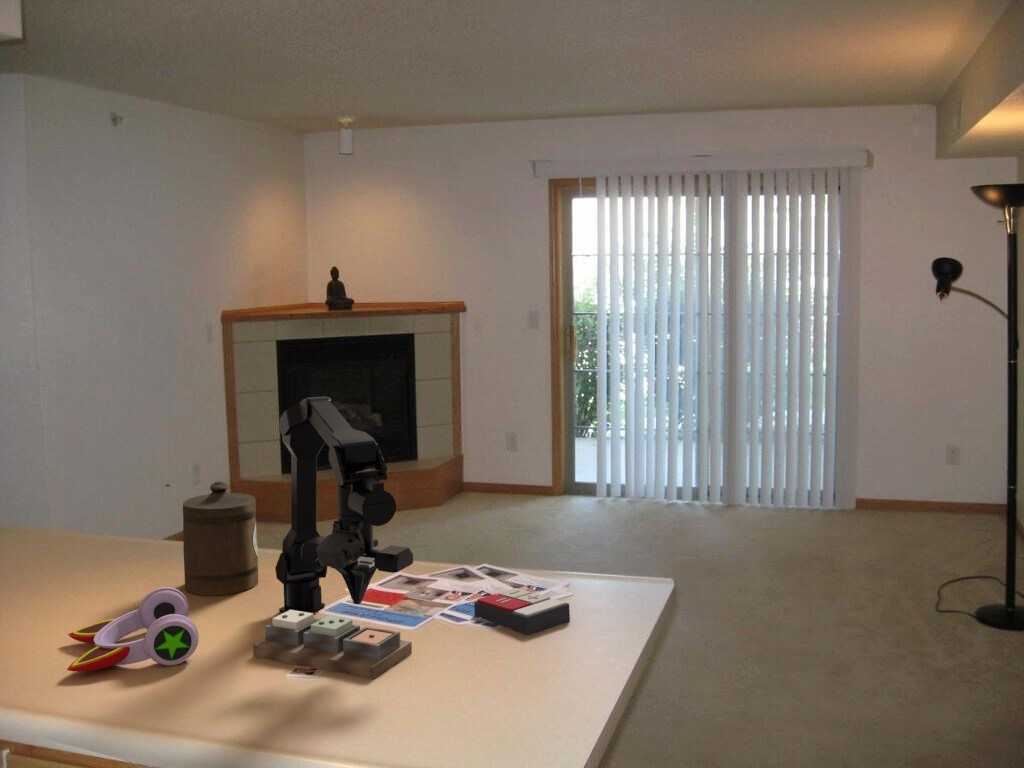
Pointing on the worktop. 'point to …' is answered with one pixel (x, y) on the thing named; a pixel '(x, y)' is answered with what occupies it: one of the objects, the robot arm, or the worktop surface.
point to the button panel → (333, 650)
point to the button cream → (293, 619)
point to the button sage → (331, 626)
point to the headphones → (163, 642)
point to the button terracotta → (372, 636)
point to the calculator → (523, 611)
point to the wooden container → (220, 542)
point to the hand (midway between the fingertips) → (357, 603)
